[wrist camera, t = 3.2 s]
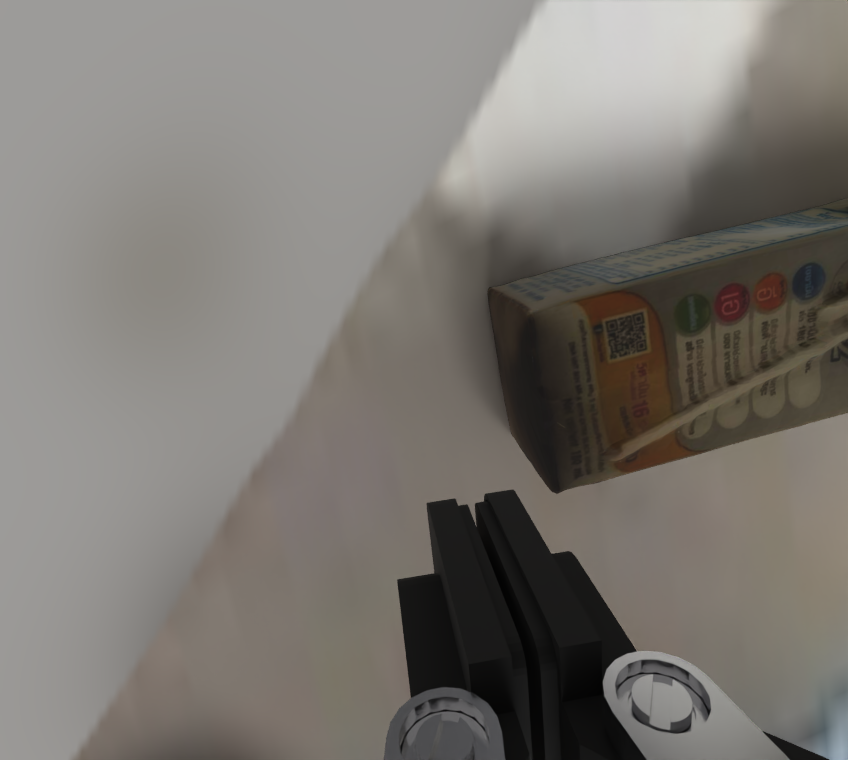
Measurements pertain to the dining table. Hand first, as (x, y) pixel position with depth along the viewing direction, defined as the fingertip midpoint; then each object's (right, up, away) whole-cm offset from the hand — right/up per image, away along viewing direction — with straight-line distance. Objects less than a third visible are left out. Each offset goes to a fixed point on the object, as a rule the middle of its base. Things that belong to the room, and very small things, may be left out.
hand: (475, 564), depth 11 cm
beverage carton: (+12, +6, +16) cm, 21 cm away
